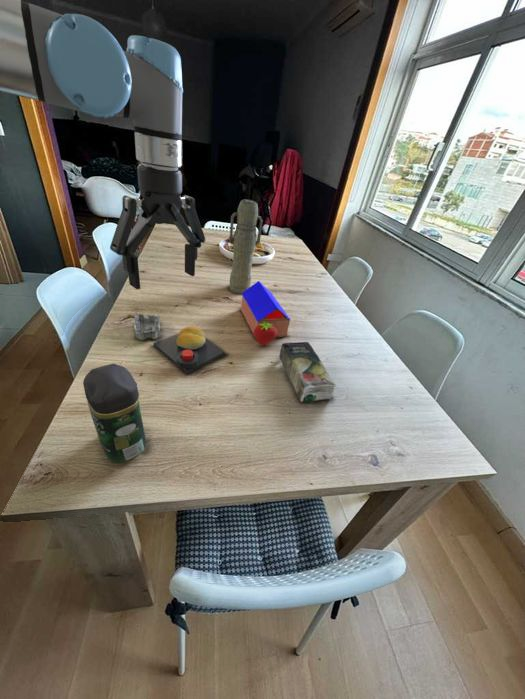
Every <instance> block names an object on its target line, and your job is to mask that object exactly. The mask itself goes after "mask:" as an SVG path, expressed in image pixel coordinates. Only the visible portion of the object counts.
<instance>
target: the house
mask: <svg viewBox="0 0 525 699" xmlns="http://www.w3.org/2000/svg"><path fill="white" fill-rule="evenodd" d="M241 296H242V297H241V303H240V311H241V313H242V314H243V316H244V318H245V321H246V322H247V325H248V326H249V328H250V330H251V333H252V335H254V329H255V327H257V326H258V324H260V323H262V324H264V323H263V321H264V322H266V323H268V322H269V324H274V325H272V326H274V327H275V328H276V330H277V335H276V337H275V338H282V337H287V335H288V332H289V331H288V330H289V326H290V322H291V318H290V316H289V315H288V314H287V312H286V311H285V309H284V308H283V307H282V306H281V304H280V303H279V301H278V300H277V299H276V297H275V296H274V295H273V293H272V292H271V291H270V290H269V289H268V288H267V287H266V286H265V285H264V284H263V283H262V282H261V281H260V280H257V281H256V282H255V283H254V284H252V285H250V288H248V289H247V290H246V291H244V292H243V293H242V294H241Z"/></svg>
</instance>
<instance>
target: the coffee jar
mask: <svg viewBox="0 0 525 699" xmlns="http://www.w3.org/2000/svg"><path fill="white" fill-rule="evenodd" d="M82 381H83V382H82V384H83V389H84V394H85V399H86V401H87V406H88V409H89V412H90V416H91V419H92V422H93V426H94V428H95V431H96V433H97V437H98V440H99V443H100V446H101V449H102V451H103V453H104V455H105V456H106V458H107V460H109V461H110V462H111V463H116V464H119V463H124V462H128V461H130V460H132V459H134V458H136V457H138V456H139V455H141V454H142V453H143V452H144V451H145V449H146V447H147V440H146V439H147V438H146V434H145V429H144V428H145V427H144V423H143V422H144V421H143V416H142V411H141V410H142V409H141V406H140V405H141V404H140V393H139V389H138V383H137V382H136V380H135V379H134V376H133V375H132V373H131V372H130V371H129V369H128V368H126V367H125V366H123V365H120V364H116V363H109V364H104V365H102V366H98V367H94V368H92V369H90V371H89V372H88V373H87V374H86V375H85V376H84V378H83V380H82Z"/></svg>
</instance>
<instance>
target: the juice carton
mask: <svg viewBox="0 0 525 699" xmlns="http://www.w3.org/2000/svg"><path fill="white" fill-rule="evenodd" d="M278 358H279V361H280V362H281V365H282V366H283V367H284V371H285V373H286V375H287V377H288V379H289V382H291V384H292V387H293V388H294V391H295V394H296V395H297V398H298V400H299V401H300V402H301V403H305V404H306V403H307V404H308V403H310V402H311V403H312V402H314V401H321V400H331V399H332V395H333V393H334V392H335V389H336V387H337V386H336V383H335V382H334V380H333V378H332V376H331V375H330V373H329V372H328V370H327V369H326V366H325V365H324V363H323V362H322V360H321V359H320V357H319V355H318V354H317V353H316V351H315V350H314V348H313V347H312V345H311V343H309V342H308V341H299V342H298V341H297V342H283V343H282V344H281V348H280V350H279V356H278Z"/></svg>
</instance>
